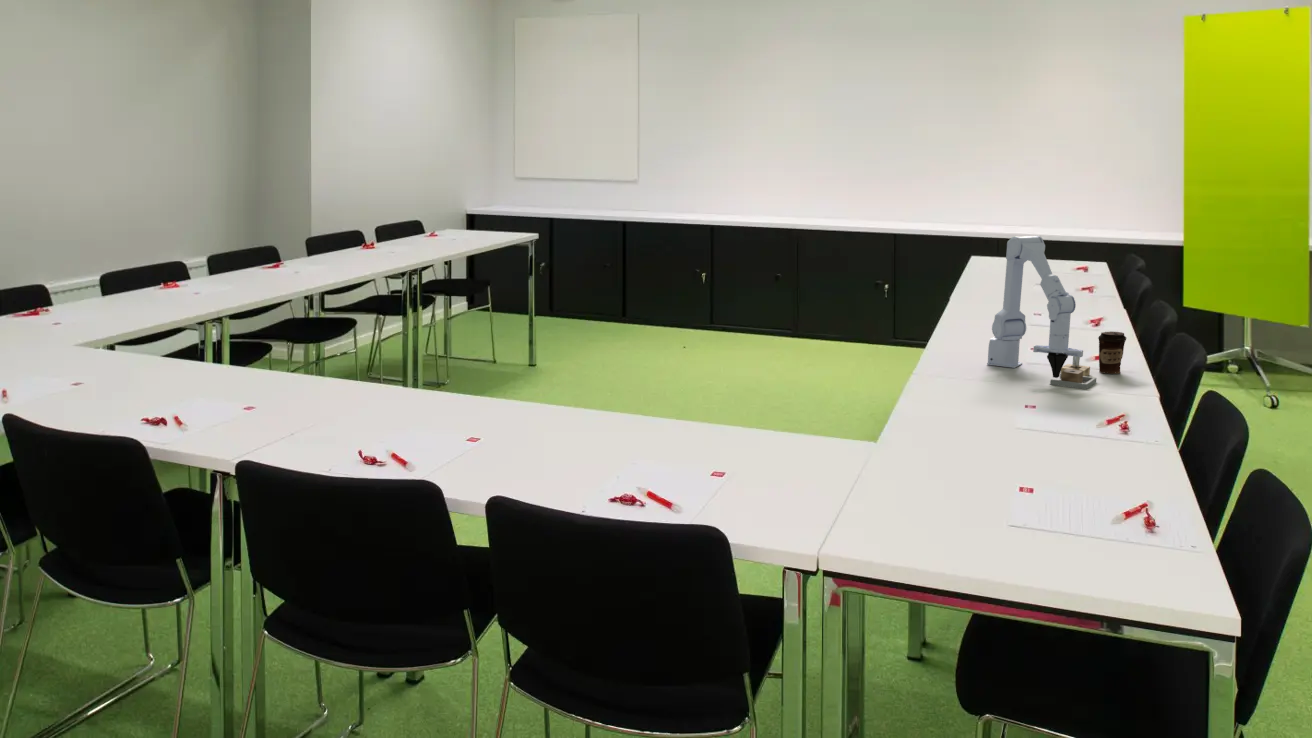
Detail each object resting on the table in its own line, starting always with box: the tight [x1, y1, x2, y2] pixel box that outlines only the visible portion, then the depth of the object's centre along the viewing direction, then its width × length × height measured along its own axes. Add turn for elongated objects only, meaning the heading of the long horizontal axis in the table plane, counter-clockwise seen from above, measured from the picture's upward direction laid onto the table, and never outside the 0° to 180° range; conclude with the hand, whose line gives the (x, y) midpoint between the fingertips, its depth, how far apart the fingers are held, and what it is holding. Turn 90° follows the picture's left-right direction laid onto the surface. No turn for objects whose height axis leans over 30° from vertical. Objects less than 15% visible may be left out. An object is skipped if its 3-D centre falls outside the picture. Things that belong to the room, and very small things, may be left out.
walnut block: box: [1060, 369, 1083, 383], centre depth 337 cm, size 5×5×4 cm
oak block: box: [1060, 363, 1091, 377], centre depth 348 cm, size 7×7×3 cm
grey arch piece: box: [1049, 373, 1098, 390], centre depth 337 cm, size 11×11×2 cm
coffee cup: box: [1097, 331, 1127, 375], centre depth 350 cm, size 9×8×13 cm
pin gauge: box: [1072, 356, 1081, 369], centre depth 347 cm, size 2×2×7 cm
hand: (1056, 377), depth 340 cm, fingers closed
